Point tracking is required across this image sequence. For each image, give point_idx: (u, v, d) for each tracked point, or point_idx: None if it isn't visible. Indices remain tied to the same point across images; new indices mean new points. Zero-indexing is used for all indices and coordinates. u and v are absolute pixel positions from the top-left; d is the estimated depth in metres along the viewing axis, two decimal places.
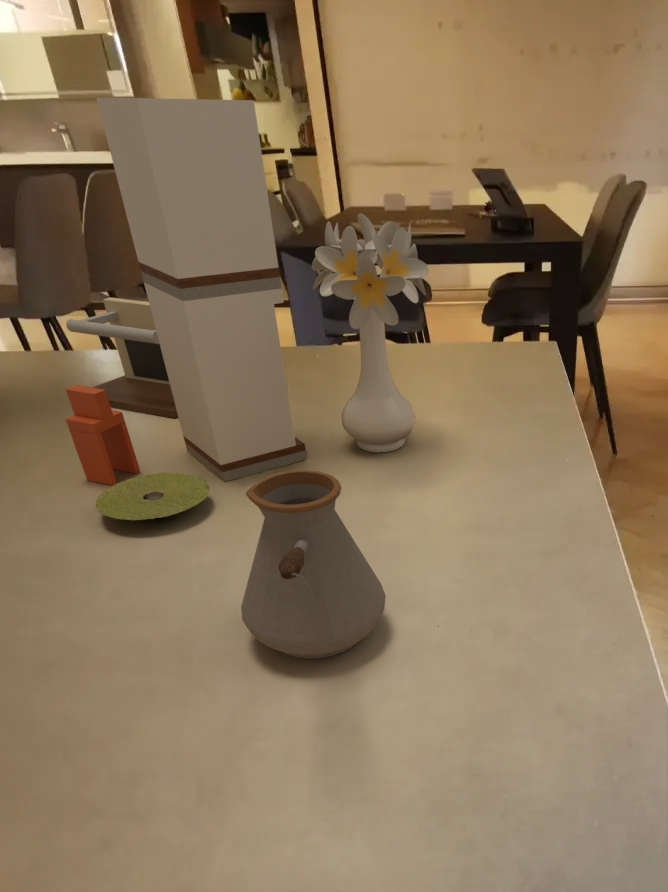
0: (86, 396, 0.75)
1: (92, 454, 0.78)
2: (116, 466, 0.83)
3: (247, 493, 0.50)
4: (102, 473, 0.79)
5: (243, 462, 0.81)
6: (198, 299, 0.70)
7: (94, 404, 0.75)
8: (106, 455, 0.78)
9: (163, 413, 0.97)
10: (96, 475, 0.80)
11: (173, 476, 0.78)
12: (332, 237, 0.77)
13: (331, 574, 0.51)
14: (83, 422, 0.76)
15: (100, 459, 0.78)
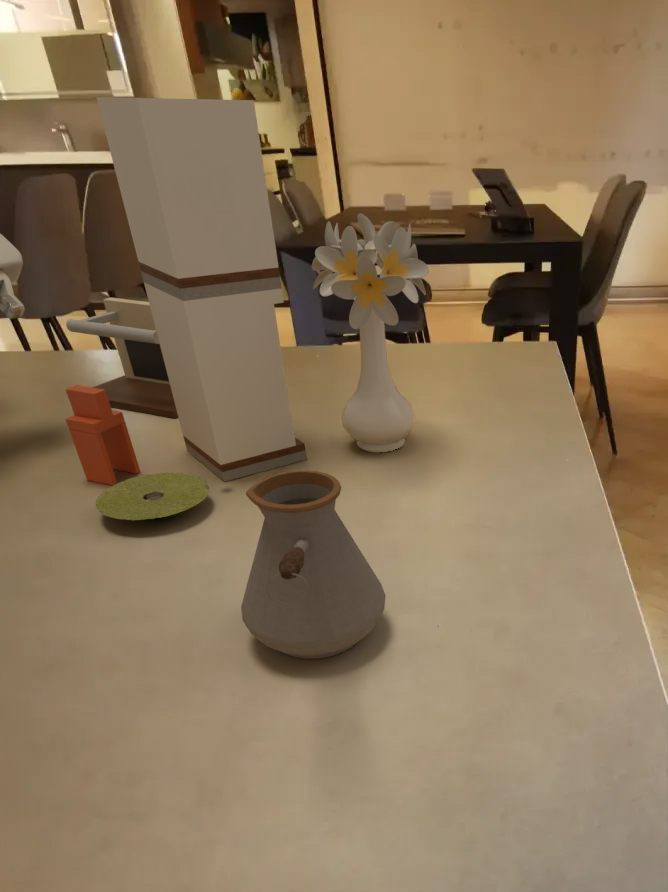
0: (86, 396, 0.75)
1: (92, 454, 0.78)
2: (116, 466, 0.83)
3: (247, 493, 0.50)
4: (102, 473, 0.79)
5: (243, 462, 0.81)
6: (198, 298, 0.70)
7: (94, 404, 0.75)
8: (106, 455, 0.78)
9: (163, 413, 0.97)
10: (96, 475, 0.80)
11: (173, 476, 0.78)
12: (332, 237, 0.77)
13: (330, 574, 0.51)
14: (83, 422, 0.76)
15: (100, 459, 0.78)
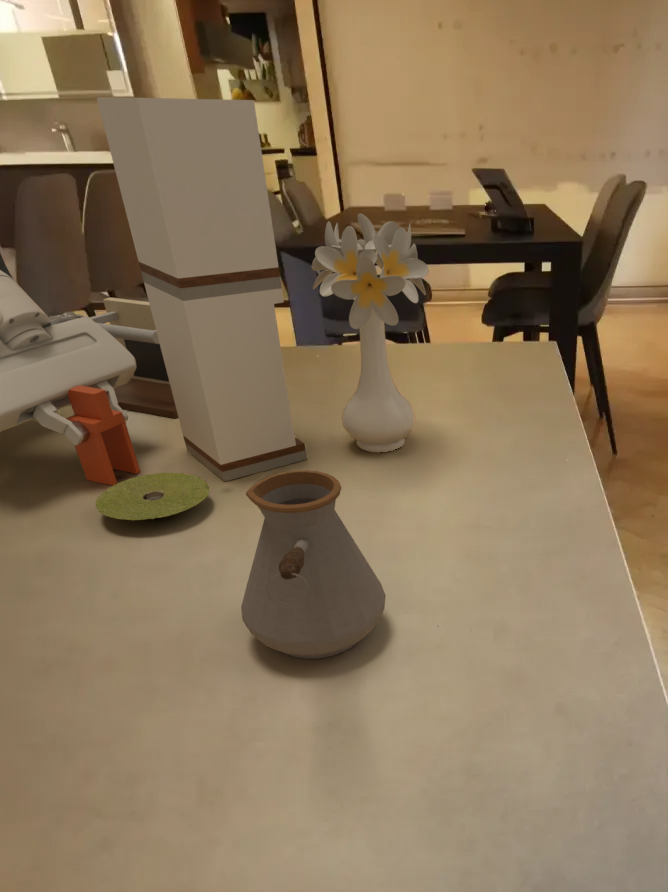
0: (86, 396, 0.75)
1: (92, 454, 0.78)
2: (116, 466, 0.83)
3: (247, 493, 0.50)
4: (102, 473, 0.79)
5: (243, 462, 0.81)
6: (198, 298, 0.70)
7: (94, 404, 0.75)
8: (106, 455, 0.78)
9: (163, 413, 0.97)
10: (96, 475, 0.80)
11: (173, 476, 0.78)
12: (332, 237, 0.77)
13: (330, 574, 0.51)
14: (83, 422, 0.76)
15: (100, 459, 0.78)
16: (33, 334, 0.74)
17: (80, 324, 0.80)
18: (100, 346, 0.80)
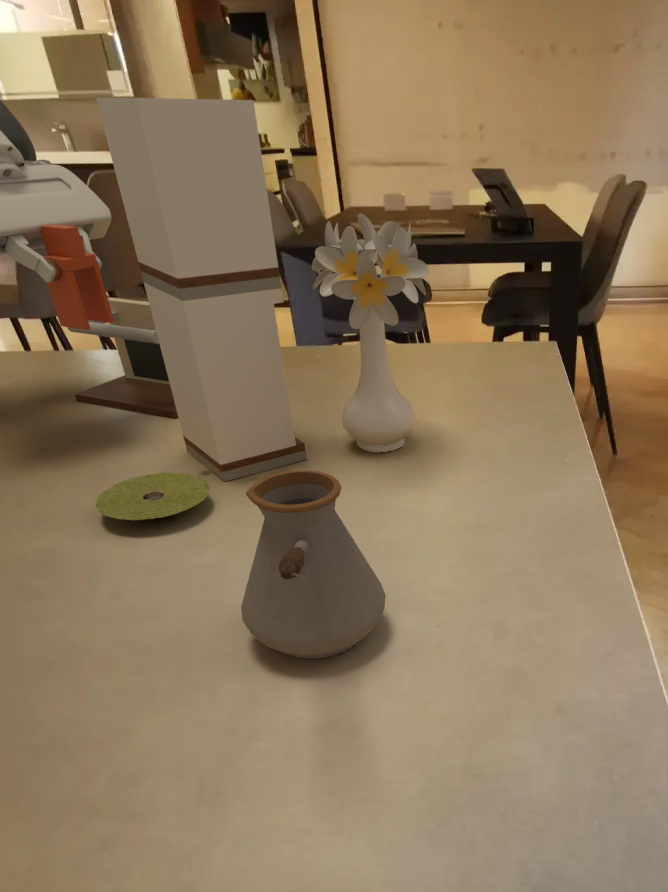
0: (58, 231, 0.76)
1: (65, 295, 0.79)
2: (90, 316, 0.83)
3: (247, 493, 0.50)
4: (75, 316, 0.80)
5: (243, 462, 0.81)
6: (197, 298, 0.70)
7: (67, 240, 0.76)
8: (79, 296, 0.78)
9: (163, 413, 0.97)
10: (69, 319, 0.80)
11: (173, 476, 0.78)
12: (332, 237, 0.77)
13: (330, 574, 0.51)
14: (55, 259, 0.76)
15: (73, 300, 0.79)
16: (6, 167, 0.74)
17: (54, 169, 0.80)
18: (74, 193, 0.81)
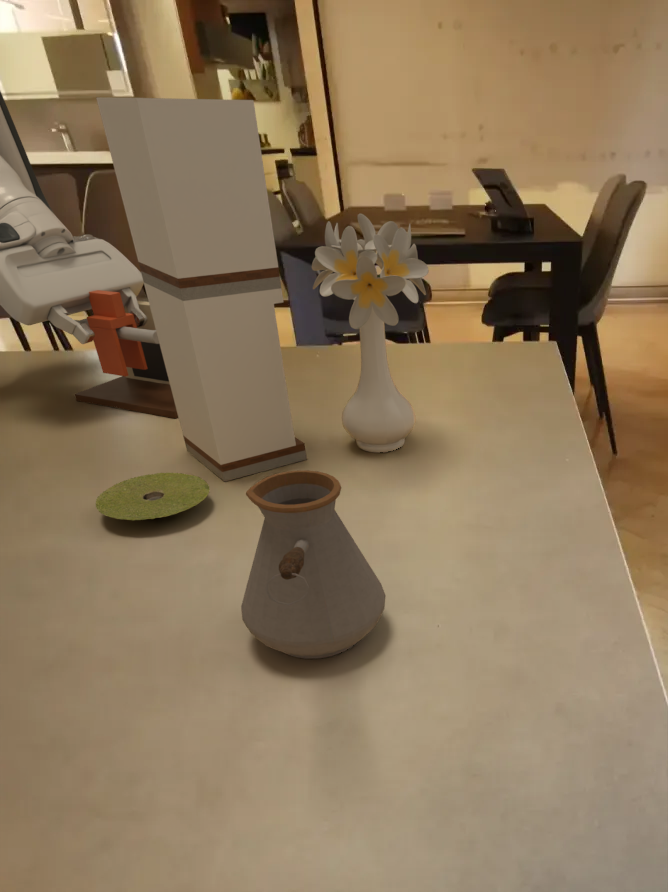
0: (104, 297, 0.91)
1: (108, 348, 0.94)
2: (127, 364, 0.99)
3: (247, 493, 0.50)
4: (116, 365, 0.95)
5: (243, 462, 0.81)
6: (197, 298, 0.70)
7: (111, 304, 0.91)
8: (120, 349, 0.94)
9: (163, 413, 0.97)
10: (111, 368, 0.96)
11: (173, 476, 0.78)
12: (332, 237, 0.77)
13: (330, 574, 0.51)
14: (101, 319, 0.92)
15: (115, 352, 0.94)
16: (60, 246, 0.90)
17: (97, 243, 0.96)
18: (114, 263, 0.96)
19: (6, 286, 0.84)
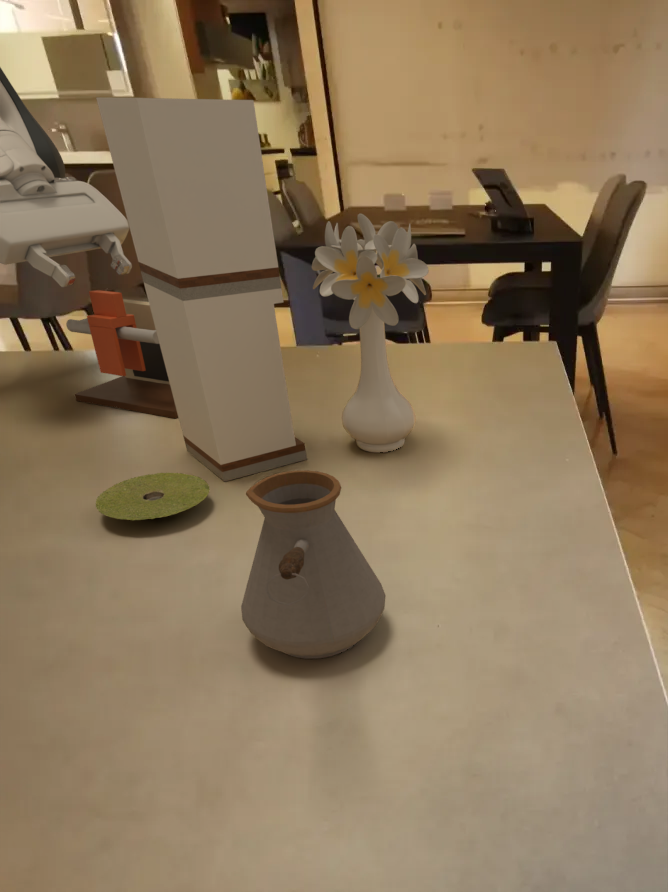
0: (105, 296, 0.91)
1: (107, 347, 0.94)
2: (125, 365, 0.99)
3: (247, 493, 0.50)
4: (114, 365, 0.95)
5: (243, 462, 0.81)
6: (197, 298, 0.70)
7: (112, 303, 0.91)
8: (118, 348, 0.94)
9: (163, 413, 0.97)
10: (109, 367, 0.95)
11: (173, 476, 0.78)
12: (332, 237, 0.77)
13: (331, 574, 0.51)
14: (101, 318, 0.92)
15: (113, 351, 0.94)
16: (40, 184, 0.85)
17: (80, 185, 0.92)
18: (97, 206, 0.92)
19: None
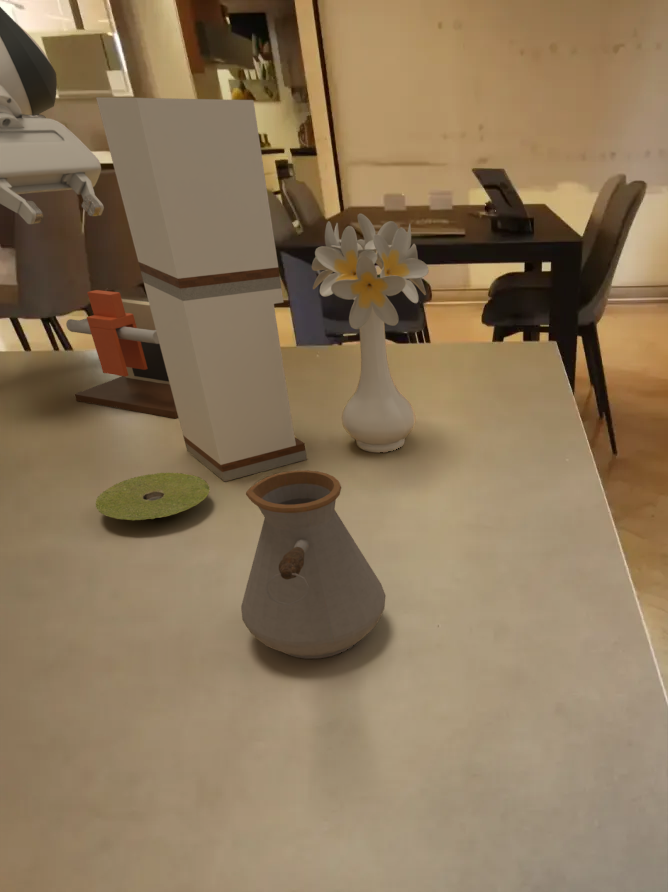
0: (104, 297, 0.91)
1: (108, 348, 0.94)
2: (127, 364, 0.99)
3: (247, 493, 0.50)
4: (116, 365, 0.95)
5: (243, 462, 0.81)
6: (197, 298, 0.70)
7: (111, 304, 0.91)
8: (120, 349, 0.94)
9: (163, 413, 0.97)
10: (111, 368, 0.96)
11: (173, 476, 0.78)
12: (332, 237, 0.77)
13: (331, 574, 0.51)
14: (101, 319, 0.92)
15: (115, 352, 0.94)
16: (5, 116, 0.82)
17: (49, 122, 0.89)
18: (67, 144, 0.89)
19: None
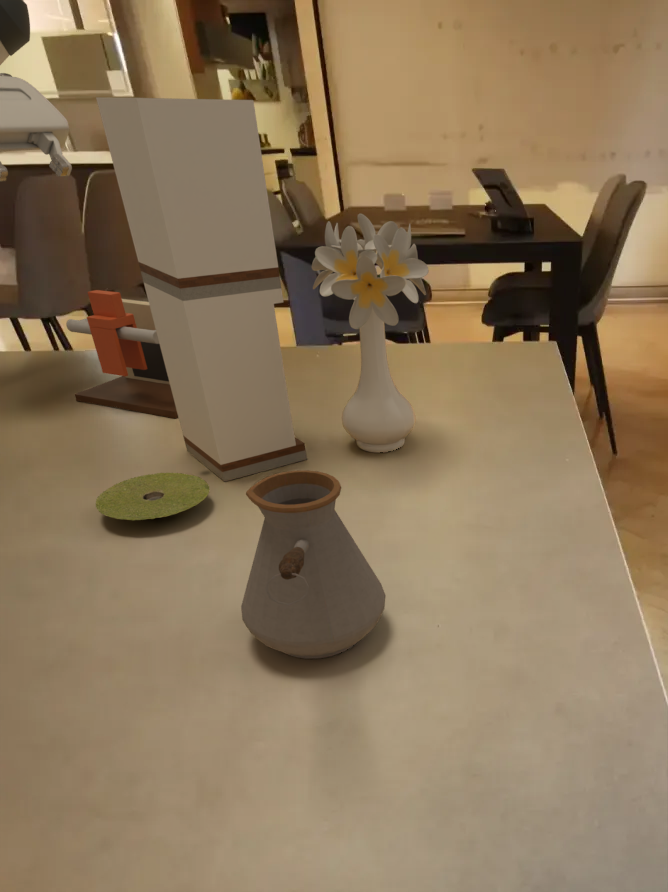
0: (104, 297, 0.91)
1: (108, 348, 0.94)
2: (127, 364, 0.99)
3: (247, 493, 0.50)
4: (116, 365, 0.95)
5: (243, 462, 0.81)
6: (197, 298, 0.70)
7: (111, 304, 0.91)
8: (119, 349, 0.94)
9: (163, 413, 0.97)
10: (111, 367, 0.96)
11: (173, 476, 0.78)
12: (332, 237, 0.77)
13: (330, 574, 0.51)
14: (101, 319, 0.92)
15: (115, 352, 0.94)
16: None
17: (15, 81, 0.88)
18: (34, 103, 0.88)
19: None
